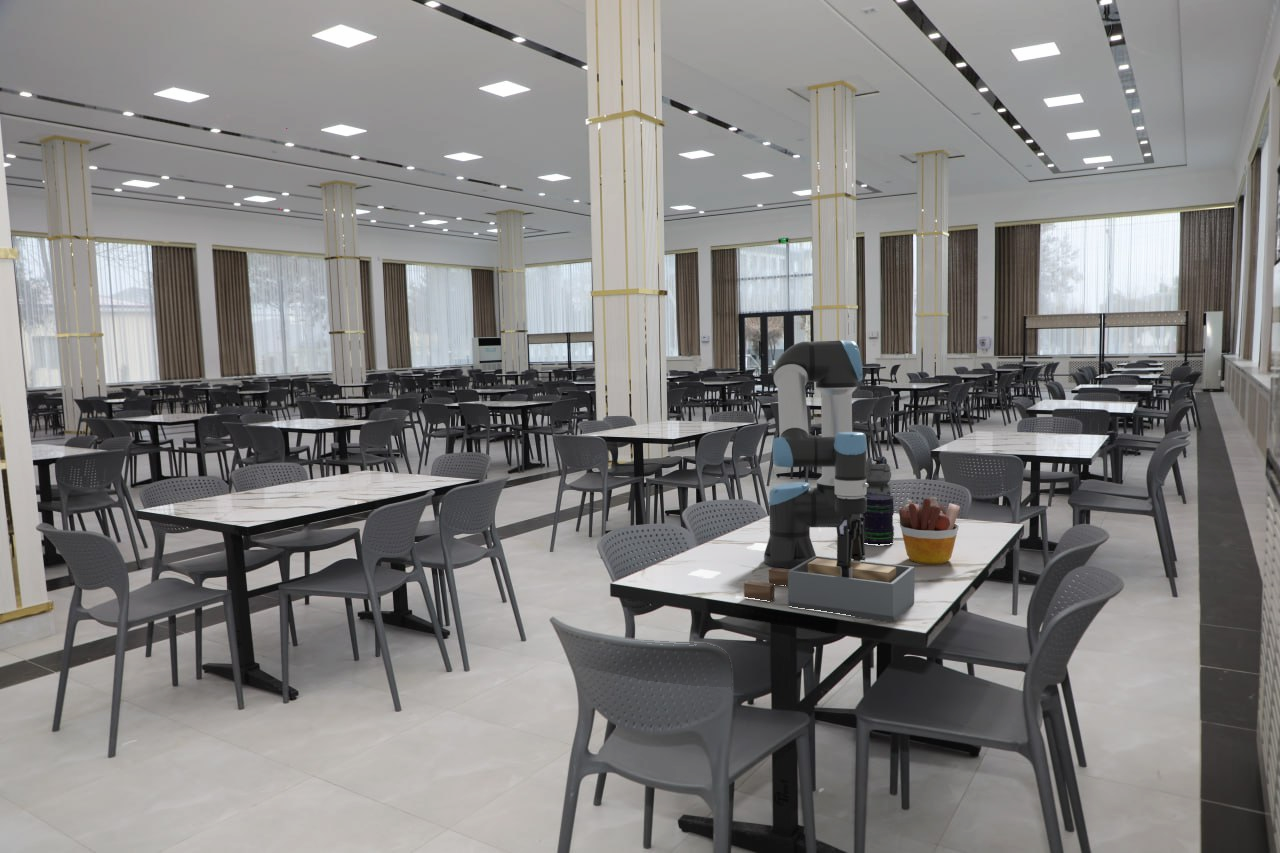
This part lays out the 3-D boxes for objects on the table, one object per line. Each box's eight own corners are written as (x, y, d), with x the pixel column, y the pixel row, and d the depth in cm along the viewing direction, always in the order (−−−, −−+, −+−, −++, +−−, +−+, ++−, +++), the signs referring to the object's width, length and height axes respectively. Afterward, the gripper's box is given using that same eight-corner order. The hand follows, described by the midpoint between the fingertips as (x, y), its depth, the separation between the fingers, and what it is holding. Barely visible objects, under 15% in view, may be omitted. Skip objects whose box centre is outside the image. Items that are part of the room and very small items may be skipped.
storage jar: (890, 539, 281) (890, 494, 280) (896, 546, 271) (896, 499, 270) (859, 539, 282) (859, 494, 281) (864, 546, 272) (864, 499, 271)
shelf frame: (788, 607, 210) (787, 571, 210) (814, 589, 225) (814, 555, 224) (893, 622, 196) (893, 584, 196) (914, 602, 211) (914, 566, 210)
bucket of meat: (904, 551, 265) (903, 486, 263) (961, 554, 258) (961, 489, 256) (894, 566, 247) (894, 497, 245) (955, 571, 240) (956, 500, 238)
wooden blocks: (769, 602, 215) (769, 586, 215) (744, 598, 219) (743, 583, 218) (797, 585, 230) (797, 570, 230) (773, 581, 234) (773, 567, 233)
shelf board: (896, 577, 207) (896, 567, 207) (888, 583, 202) (888, 572, 202) (816, 568, 218) (816, 558, 218) (807, 573, 213) (807, 563, 213)
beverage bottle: (898, 525, 303) (898, 454, 301) (882, 532, 293) (881, 458, 291) (871, 522, 309) (871, 453, 307) (854, 528, 299) (853, 457, 297)
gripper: (852, 503, 198) (853, 601, 200) (878, 491, 214) (878, 582, 216) (821, 501, 203) (822, 597, 204) (848, 489, 218) (849, 579, 220)
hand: (851, 589), depth 210 cm, fingers closed on shelf board, 6 cm apart
